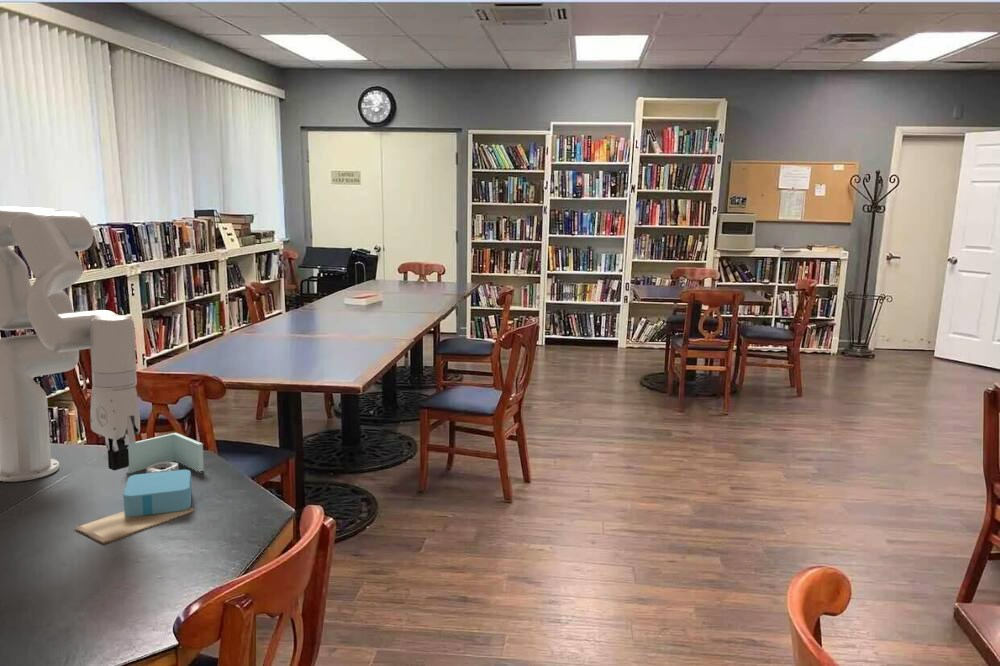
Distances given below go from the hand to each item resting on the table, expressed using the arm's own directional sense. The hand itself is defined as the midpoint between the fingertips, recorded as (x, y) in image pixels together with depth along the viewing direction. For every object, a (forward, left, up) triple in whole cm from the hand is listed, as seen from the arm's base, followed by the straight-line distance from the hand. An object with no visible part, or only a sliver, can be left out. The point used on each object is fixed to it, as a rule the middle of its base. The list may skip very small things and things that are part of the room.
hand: (118, 467), depth 133 cm
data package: (-1, +2, -7) cm, 7 cm away
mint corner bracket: (-14, +18, -10) cm, 25 cm away
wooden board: (+5, 0, -10) cm, 11 cm away
